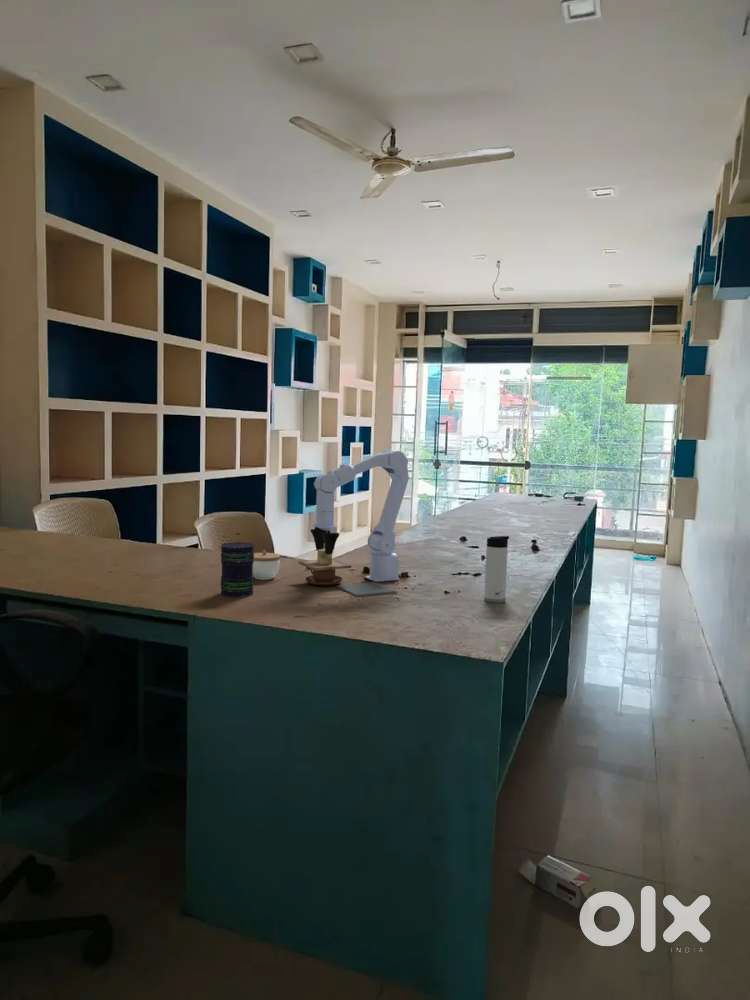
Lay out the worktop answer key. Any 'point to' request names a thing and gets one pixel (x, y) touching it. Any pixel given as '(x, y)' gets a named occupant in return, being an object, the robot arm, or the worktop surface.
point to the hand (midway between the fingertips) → (324, 552)
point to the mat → (366, 589)
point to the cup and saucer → (323, 577)
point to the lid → (324, 562)
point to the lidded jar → (265, 565)
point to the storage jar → (237, 569)
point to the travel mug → (496, 569)
